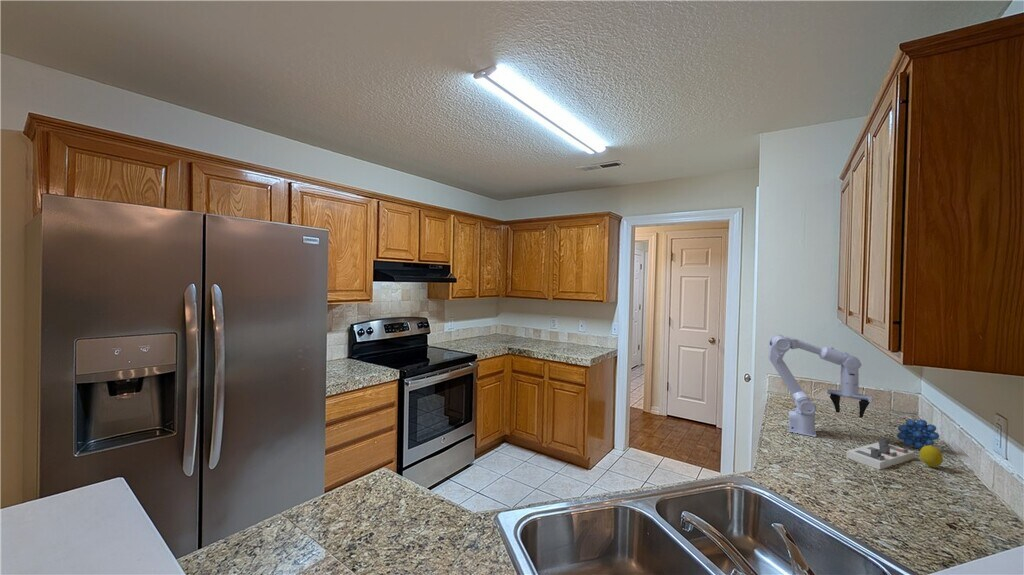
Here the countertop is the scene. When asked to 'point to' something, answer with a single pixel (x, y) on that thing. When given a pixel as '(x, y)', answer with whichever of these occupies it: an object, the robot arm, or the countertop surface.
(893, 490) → the countertop surface
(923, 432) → the grapes
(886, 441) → the switch far
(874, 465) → the switch panel
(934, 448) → the lemon
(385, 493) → the countertop surface
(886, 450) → the switch middle
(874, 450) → the switch near
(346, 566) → the countertop surface
